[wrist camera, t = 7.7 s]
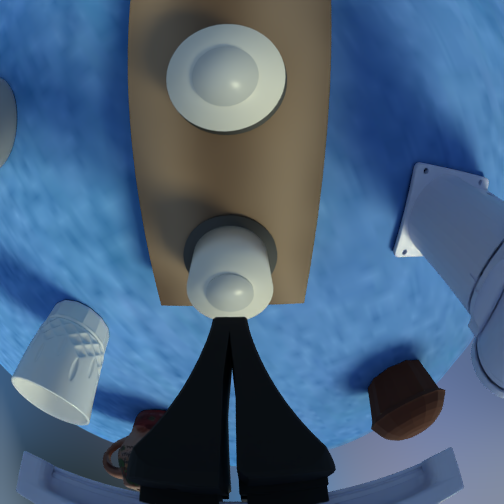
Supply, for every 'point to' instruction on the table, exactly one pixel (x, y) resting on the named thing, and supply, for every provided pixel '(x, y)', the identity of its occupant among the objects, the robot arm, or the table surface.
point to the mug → (7, 120)
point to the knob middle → (225, 77)
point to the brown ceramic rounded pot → (130, 445)
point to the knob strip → (230, 142)
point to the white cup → (64, 363)
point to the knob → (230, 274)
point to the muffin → (404, 401)
